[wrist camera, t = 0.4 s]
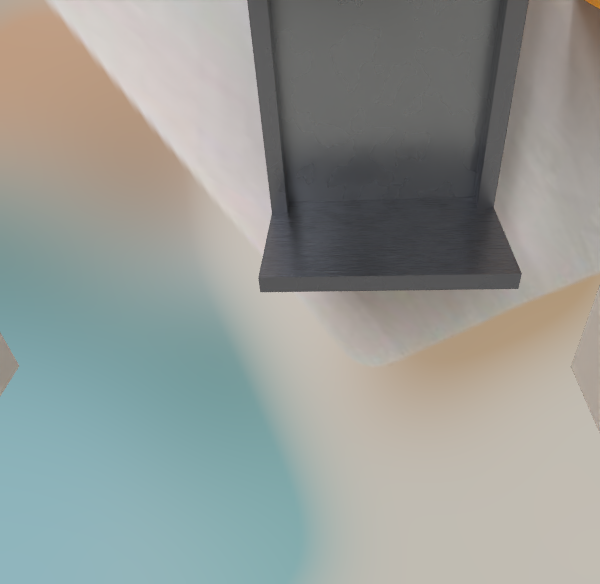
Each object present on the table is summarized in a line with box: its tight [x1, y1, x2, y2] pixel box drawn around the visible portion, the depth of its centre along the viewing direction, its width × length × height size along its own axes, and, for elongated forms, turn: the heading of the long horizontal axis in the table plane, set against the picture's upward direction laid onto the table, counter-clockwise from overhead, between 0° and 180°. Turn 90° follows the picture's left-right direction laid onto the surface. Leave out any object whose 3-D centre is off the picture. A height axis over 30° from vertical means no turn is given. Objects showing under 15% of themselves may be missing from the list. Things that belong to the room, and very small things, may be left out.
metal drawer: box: [247, 0, 529, 292], centre depth 29 cm, size 17×14×11 cm
